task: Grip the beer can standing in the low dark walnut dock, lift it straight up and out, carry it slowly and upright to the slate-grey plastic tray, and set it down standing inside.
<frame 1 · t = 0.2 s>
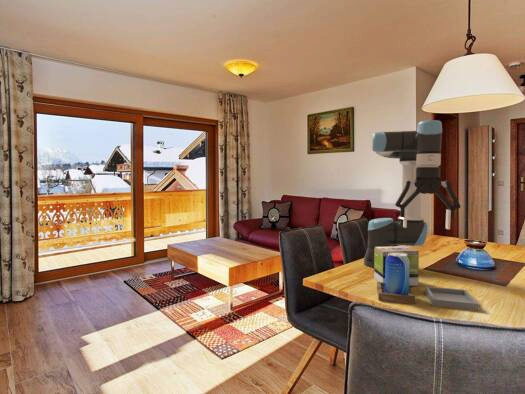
hand: (425, 228, 116), 27 cm above the table, tool pointing down, fingers open, 13 cm apart
beer can: (396, 296, 126), resting in dock
tea box: (395, 283, 141), on the table
tray: (449, 300, 120), on the table
dock: (396, 295, 126), on the table
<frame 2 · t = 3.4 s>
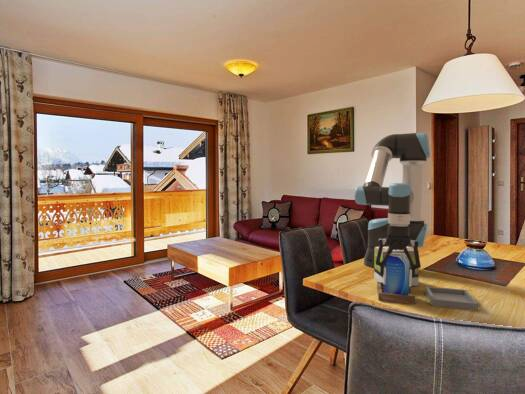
hand: (396, 284, 125), 4 cm above the table, tool pointing down, fingers closed on beer can, 8 cm apart
beer can: (396, 296, 126), resting in dock, touching gripper
everything else where it was.
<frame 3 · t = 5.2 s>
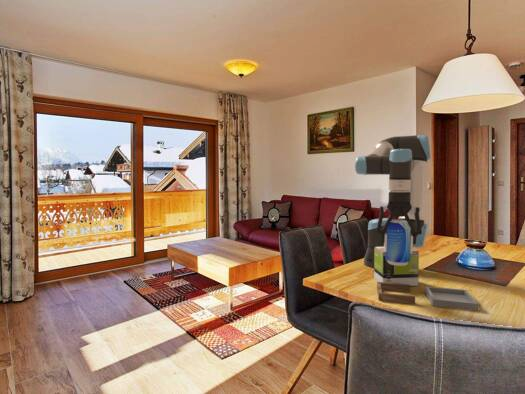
hand: (397, 251, 125), 17 cm above the table, tool pointing down, fingers closed on beer can, 8 cm apart
beer can: (397, 263, 125), point 12 cm above the table, touching gripper
everything else where it was.
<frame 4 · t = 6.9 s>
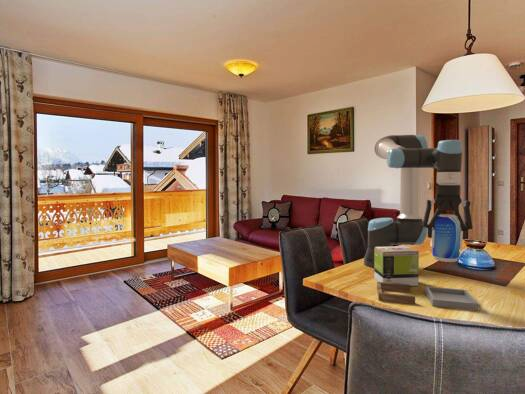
hand: (445, 247, 119), 19 cm above the table, tool pointing down, fingers closed on beer can, 8 cm apart
beer can: (445, 260, 120), point 15 cm above the table, touching gripper
everything else where it was.
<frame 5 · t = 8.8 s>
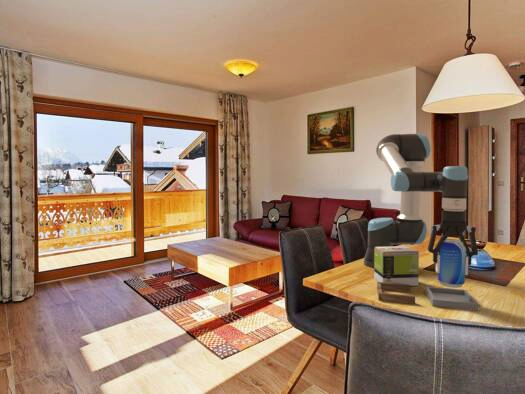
hand: (451, 272, 120), 10 cm above the table, tool pointing down, fingers closed on beer can, 8 cm apart
beer can: (450, 285, 120), point 6 cm above the table, touching gripper
everything else where it was.
when the fingers open (7 cm above the table, at t = 10.4 s): beer can drops 1 cm, resting on tray.
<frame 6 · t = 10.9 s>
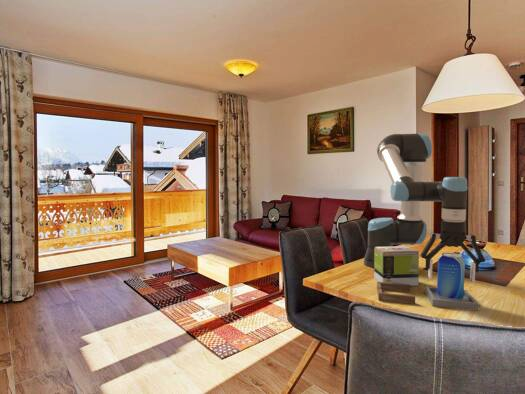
hand: (450, 279, 120), 8 cm above the table, tool pointing down, fingers open, 13 cm apart
beer can: (449, 298, 121), point 1 cm above the table, touching tray
everything else where it was.
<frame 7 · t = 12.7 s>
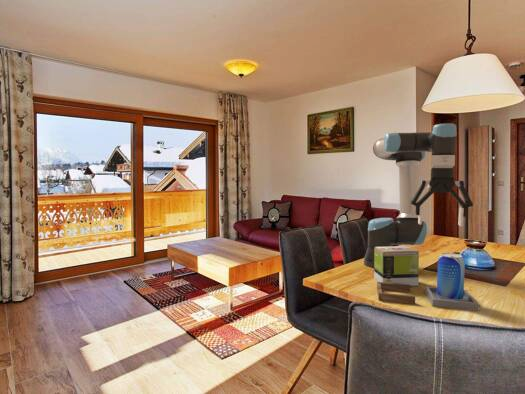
hand: (439, 224, 124), 27 cm above the table, tool pointing down, fingers open, 13 cm apart
nothing on the table moved.
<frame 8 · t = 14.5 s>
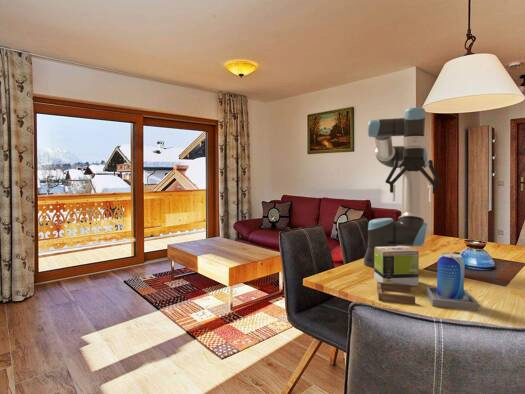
hand: (411, 201, 134), 35 cm above the table, tool pointing down, fingers open, 13 cm apart
nothing on the table moved.
at the end: beer can 0.1 cm off-centre on the tray, point 0.6 cm above the tray's base; beer can tilted 0°; the gripper is holding nothing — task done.
